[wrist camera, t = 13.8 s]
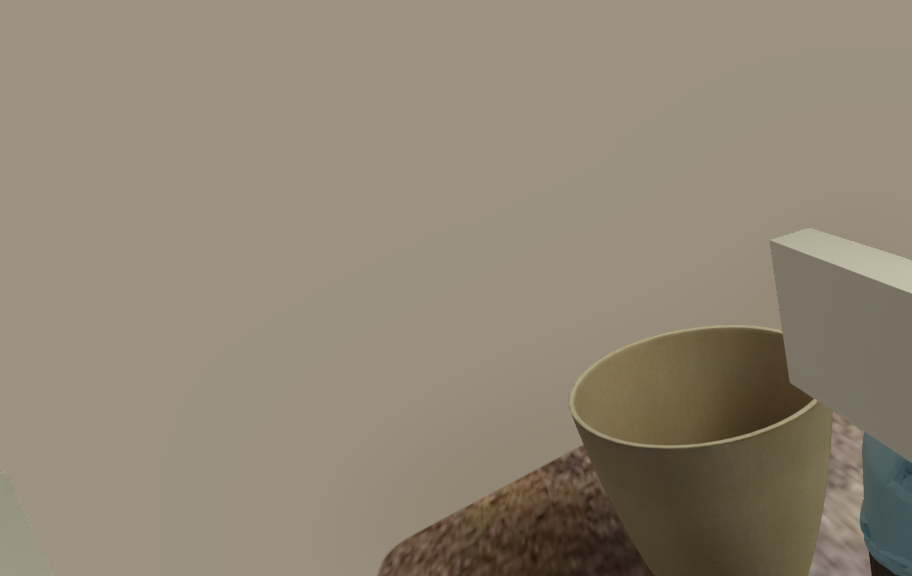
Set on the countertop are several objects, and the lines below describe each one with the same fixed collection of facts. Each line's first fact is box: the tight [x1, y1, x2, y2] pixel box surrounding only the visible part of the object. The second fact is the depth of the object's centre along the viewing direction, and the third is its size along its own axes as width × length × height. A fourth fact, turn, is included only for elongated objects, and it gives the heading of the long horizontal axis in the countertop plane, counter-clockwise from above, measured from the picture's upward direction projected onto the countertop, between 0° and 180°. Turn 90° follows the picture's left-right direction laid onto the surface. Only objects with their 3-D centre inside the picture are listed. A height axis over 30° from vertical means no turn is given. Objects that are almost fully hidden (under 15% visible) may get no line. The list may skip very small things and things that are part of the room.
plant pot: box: [568, 325, 833, 576], centre depth 50 cm, size 15×15×16 cm
